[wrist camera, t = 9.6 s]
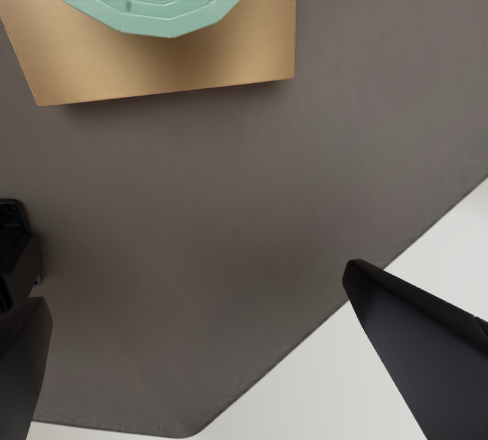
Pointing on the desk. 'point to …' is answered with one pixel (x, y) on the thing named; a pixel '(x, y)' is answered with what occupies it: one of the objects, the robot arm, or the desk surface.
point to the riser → (146, 52)
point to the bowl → (155, 15)
